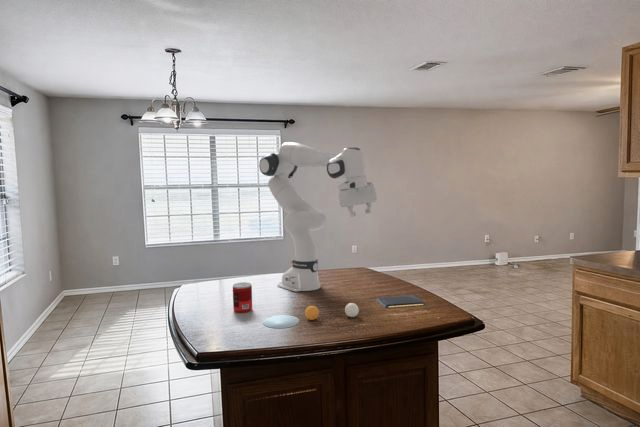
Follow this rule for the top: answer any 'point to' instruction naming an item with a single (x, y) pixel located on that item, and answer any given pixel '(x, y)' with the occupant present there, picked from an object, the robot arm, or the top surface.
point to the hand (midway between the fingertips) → (360, 214)
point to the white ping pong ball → (351, 309)
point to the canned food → (242, 297)
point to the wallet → (400, 301)
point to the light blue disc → (281, 321)
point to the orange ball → (311, 312)
